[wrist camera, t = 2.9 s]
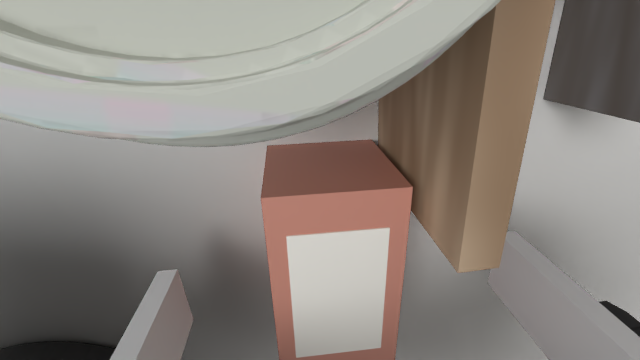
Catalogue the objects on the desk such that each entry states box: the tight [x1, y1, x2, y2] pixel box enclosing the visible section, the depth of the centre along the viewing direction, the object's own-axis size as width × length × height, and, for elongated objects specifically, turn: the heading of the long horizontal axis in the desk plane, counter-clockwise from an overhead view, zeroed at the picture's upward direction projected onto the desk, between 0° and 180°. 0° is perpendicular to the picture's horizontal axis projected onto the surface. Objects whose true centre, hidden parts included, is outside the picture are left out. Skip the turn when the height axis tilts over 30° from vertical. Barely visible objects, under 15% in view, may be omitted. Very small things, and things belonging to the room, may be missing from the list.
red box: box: [261, 140, 413, 360], centre depth 15 cm, size 5×9×6 cm, turn 1°
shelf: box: [378, 0, 640, 273], centre depth 11 cm, size 14×11×8 cm
